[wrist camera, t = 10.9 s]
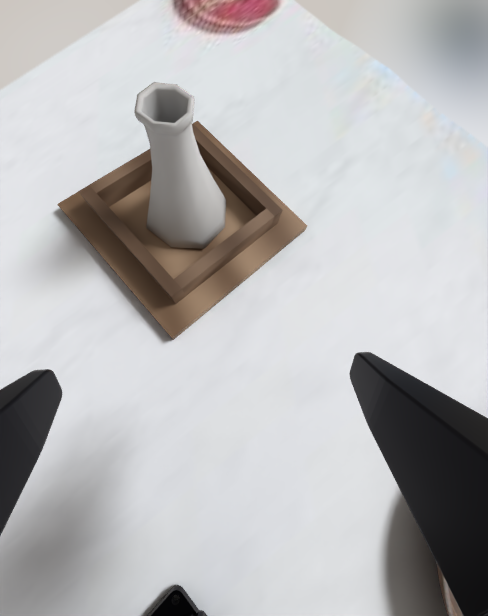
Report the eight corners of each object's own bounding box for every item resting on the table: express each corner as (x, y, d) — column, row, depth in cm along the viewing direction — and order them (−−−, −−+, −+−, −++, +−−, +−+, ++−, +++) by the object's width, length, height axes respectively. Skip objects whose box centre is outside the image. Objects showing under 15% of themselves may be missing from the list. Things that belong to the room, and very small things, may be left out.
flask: (210, 262, 23) (202, 175, 13) (133, 234, 23) (68, 128, 13) (238, 197, 25) (248, 81, 15) (167, 172, 25) (132, 40, 15)
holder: (173, 339, 21) (166, 333, 19) (62, 209, 24) (42, 188, 21) (304, 230, 25) (314, 212, 22) (198, 128, 27) (195, 100, 25)
